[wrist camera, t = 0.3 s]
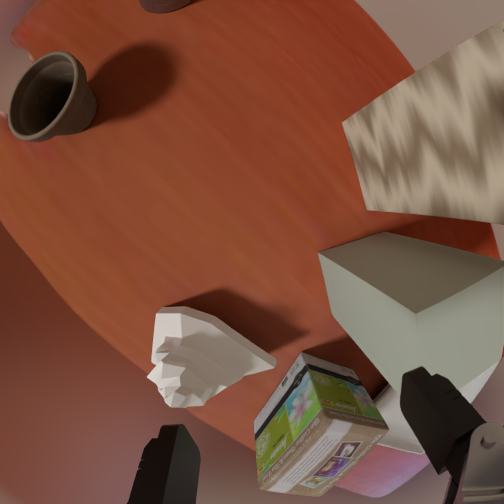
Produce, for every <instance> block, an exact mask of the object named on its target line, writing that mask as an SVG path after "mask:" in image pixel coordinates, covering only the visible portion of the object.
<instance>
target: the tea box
mask: <svg viewBox="0 0 504 504" xmlns="http://www.w3.org/2000/svg"><path fill="white" fill-rule="evenodd" d="M254 431H255V445H256V459H257V471H258V483H259V489H262V490H267V491H274V492H280V493H288V494H296V495H307V496H319V497H320V496H322V495H323V494H324V493H325V492H327V491H328V490H329V489H330V488H331V487H333V486H334V485H335V484H336V483H337V482H338V481H339V480H341V479H342V478H343V477H344V476H345V475H346V474H347V473H348V472H349V471H350V470H351V469H352V468H354V467H355V466H356V465H357V464H358V463H359V462H360V461H361V460H362V459H363V458H364V457H365V456H366V455H367V454H368V453H369V452H370V451H371V450H372V449H373V448H374V446H375V445H376V444H377V443H378V442H379V441H380V440H381V439H382V438H383V437H384V436H385V434H386V433H387V432H388V431H389V427H388V426H387V424H386V422H385V420H384V419H383V417H382V415H381V414H380V412H379V410H378V409H377V407H376V406H375V404H374V402H373V401H372V399H371V397H370V396H369V394H368V393H367V391H366V389H365V388H364V386H363V385H362V383H361V382H360V380H359V378H358V377H357V375H356V374H355V372H354V371H353V370H352V369H349V368H346V367H343V366H339V365H337V364H334V363H331V362H328V361H325V360H322V359H320V358H317V357H314V356H312V355H309V354H306V353H303V352H301V353H300V355H299V357H298V358H297V359H296V361H295V362H294V364H293V365H292V367H291V368H290V370H289V372H288V373H287V374H286V376H285V377H284V379H283V380H282V382H281V383H280V385H279V386H278V388H277V389H276V391H275V392H274V393H273V395H272V396H271V398H270V399H269V401H268V402H267V404H266V405H265V407H264V408H263V409H262V410H261V412H260V413H259V415H258V416H257V418H256V419H255V420H254Z"/></svg>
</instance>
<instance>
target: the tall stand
mask: <svg viewBox="0 0 504 504" xmlns="http://www.w3.org/2000/svg"><path fill="white" fill-rule="evenodd" d="M503 29H504V20H503V21H501V22H499V23H497V24H495V25H493V26H492V27H490V28H488V29H486V30H484V31H483V32H481V33H479V34H478V35H476V36H474V37H472V38H470V39H469V40H467V41H465V42H464V43H462V44H460V45H458V46H457V47H455V48H454V49H452V50H450V51H449V52H447V53H445V54H444V55H442V56H440V57H439V58H437V59H436V60H434V61H432V62H431V63H429V64H428V65H426V66H425V67H423V68H421V69H420V70H418V71H417V72H415V73H414V74H412V75H411V76H409V77H408V78H406V79H404V80H403V81H401V82H400V83H398V84H397V85H395V86H394V87H392V88H391V89H390V90H388V91H387V92H385V93H384V94H382V95H381V96H379V97H378V98H376V99H375V100H373V101H372V102H371V103H369V104H368V105H366V106H365V107H363V108H362V109H361V110H359V111H358V112H356V113H355V114H353V115H352V116H351V117H349V118H348V119H346V120H345V121H344V122H342V125H343V128H344V131H345V134H346V137H347V140H348V143H349V147H350V150H351V153H352V157H353V160H354V164H355V167H356V171H357V174H358V178H359V182H360V186H361V189H362V193H363V197H364V201H365V206H366V210H373V211H386V212H398V213H409V214H419V215H429V216H439V217H448V218H457V219H465V220H473V221H481V222H488V223H496V224H502V225H503V224H504V32H503Z"/></svg>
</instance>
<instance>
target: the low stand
mask: <svg viewBox="0 0 504 504" xmlns="http://www.w3.org/2000/svg"><path fill="white" fill-rule="evenodd" d="M318 255H319V259H320V263H321V267H322V272H323V276H324V280H325V285H326V289H327V294H328V298H329V303H330V308H331V313H332V315H333V317H334V318H335V319H336V320H337V321H338V323H339V324H340V325H341V326H342V327H343V328H344V330H345V331H346V332H347V333H348V334H349V336H350V337H351V338H352V339H353V340H354V342H355V343H356V344H357V345H358V346H359V348H360V349H361V350H362V351H363V352H364V353H365V355H366V356H367V357H368V358H369V359H370V361H371V362H372V363H373V364H374V366H375V367H376V368H377V369H378V370H379V372H380V373H381V374H382V375H383V376H384V378H385V379H386V380H387V381H388V383H389V384H390V385H391V386H392V387H393V389H394V390H395V391H396V392H397V394H398V395H399V396H400V394H401V384H402V376H403V374H404V373H406V372H408V371H411V370H413V369H416V368H418V367H420V366H423V367H424V368H425V369H426V370H427V371H428V372H429V373H430V374H431V376H432V375H434V374H439V375H441V376H444V377H446V378H448V379H449V380H450V381H451V382H452V384H453V385H454V386H455V387H456V389H460V388H461V387H463V386H464V385H466V384H467V383H469V382H470V381H472V380H473V379H475V378H476V377H477V376H479V375H480V374H482V373H483V372H484V371H486V370H487V369H488V368H490V367H491V366H492V365H494V364H495V363H496V362H497V361H499V360H500V359H501V357H502V351H503V345H504V261H502V260H499V259H495V258H491V257H488V256H484V255H480V254H477V253H473V252H469V251H465V250H461V249H457V248H453V247H449V246H445V245H441V244H437V243H433V242H429V241H424V240H420V239H416V238H411V237H407V236H402V235H398V234H393V233H389V232H381V233H378V234H375V235H372V236H369V237H366V238H363V239H359V240H356V241H353V242H350V243H347V244H344V245H340V246H337V247H334V248H331V249H328V250H324V251H321V252H318Z"/></svg>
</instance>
